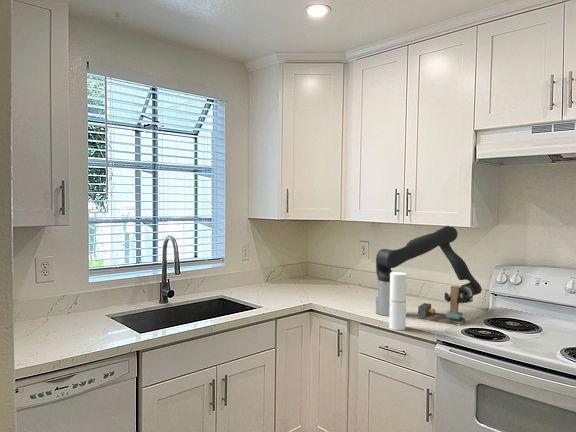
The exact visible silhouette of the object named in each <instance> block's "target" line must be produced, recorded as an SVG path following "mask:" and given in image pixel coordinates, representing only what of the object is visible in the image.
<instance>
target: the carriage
mask: <svg viewBox="0 0 576 432" xmlns="http://www.w3.org/2000/svg"><path fill="white" fill-rule="evenodd" d="M459 287H460V286H459V285H450V294H451V297H450V302H449V303H450V305H449V306H450V307H449V310H448V312H446V313H445V314H446V317H450V318H456V319H459V318H461V317H464V315H463V314H464V313H463V312H460V311H459V304H460V303H457V299H458V298H459Z"/></svg>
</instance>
